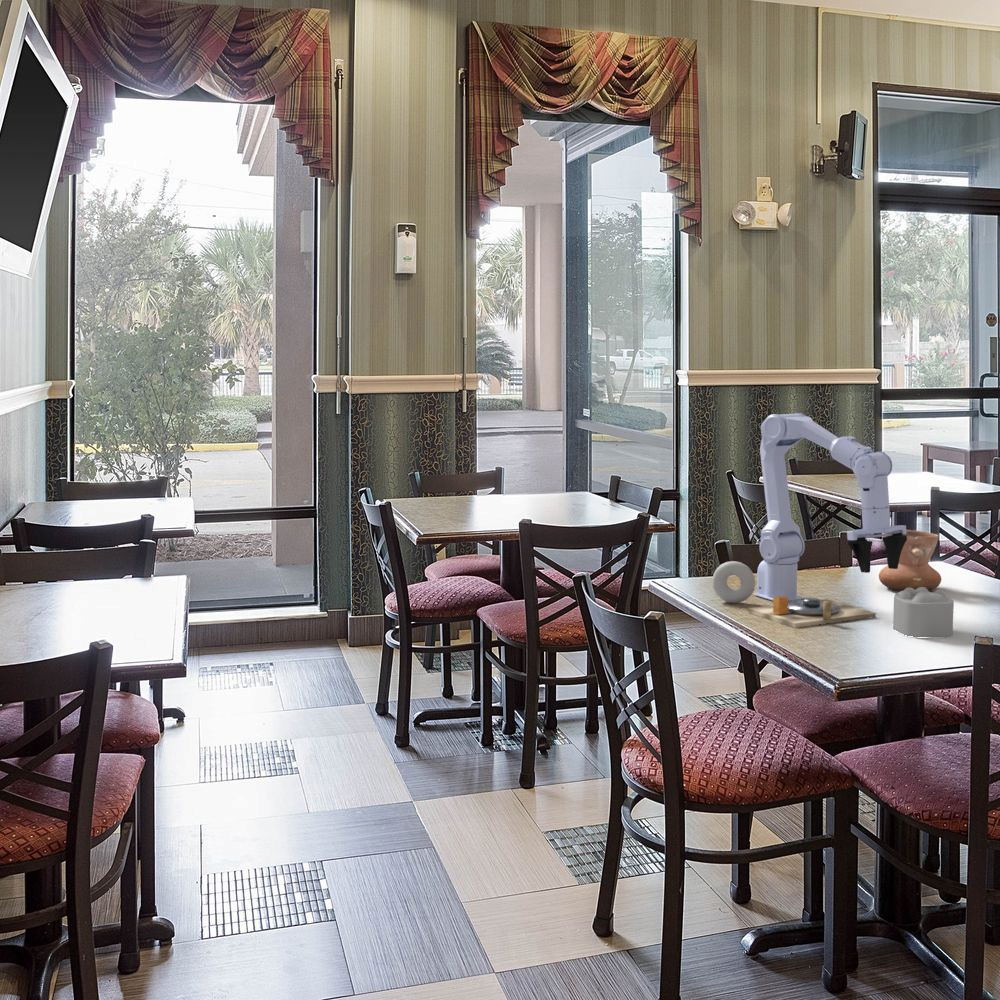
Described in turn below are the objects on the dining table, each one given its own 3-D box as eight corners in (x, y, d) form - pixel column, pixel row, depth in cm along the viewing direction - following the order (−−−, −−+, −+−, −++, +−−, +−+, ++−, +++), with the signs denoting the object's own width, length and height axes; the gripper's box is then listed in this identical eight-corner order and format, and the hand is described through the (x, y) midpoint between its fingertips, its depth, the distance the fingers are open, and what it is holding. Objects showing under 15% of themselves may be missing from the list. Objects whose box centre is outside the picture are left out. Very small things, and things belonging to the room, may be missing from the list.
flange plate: (759, 608, 240) (759, 592, 240) (815, 601, 247) (815, 586, 246) (793, 619, 229) (794, 602, 229) (851, 612, 236) (851, 595, 235)
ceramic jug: (948, 597, 255) (951, 538, 254) (884, 595, 258) (887, 536, 256) (931, 584, 273) (934, 528, 272) (872, 582, 276) (874, 527, 274)
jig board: (748, 612, 242) (749, 591, 241) (826, 603, 251) (826, 583, 250) (797, 628, 226) (797, 606, 226) (878, 618, 235) (879, 596, 235)
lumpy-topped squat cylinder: (908, 638, 217) (910, 597, 216) (883, 623, 230) (884, 584, 229) (959, 637, 218) (960, 595, 217) (930, 622, 231) (931, 583, 230)
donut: (755, 602, 252) (756, 561, 251) (753, 605, 249) (754, 563, 248) (713, 600, 256) (713, 558, 254) (710, 603, 252) (711, 561, 251)
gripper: (861, 511, 226) (865, 575, 227) (914, 505, 232) (918, 568, 232) (839, 510, 233) (843, 573, 233) (891, 505, 238) (895, 566, 239)
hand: (879, 570), depth 233 cm, fingers open, 7 cm apart
